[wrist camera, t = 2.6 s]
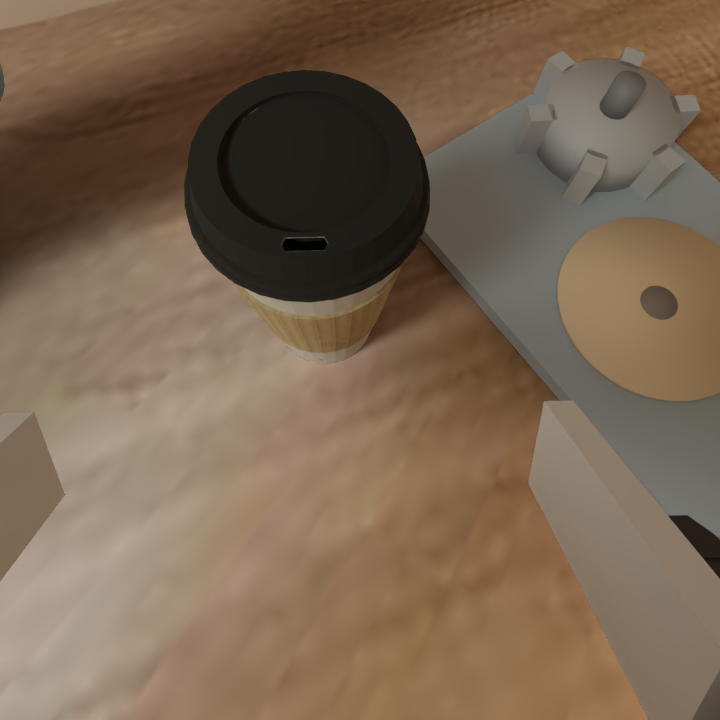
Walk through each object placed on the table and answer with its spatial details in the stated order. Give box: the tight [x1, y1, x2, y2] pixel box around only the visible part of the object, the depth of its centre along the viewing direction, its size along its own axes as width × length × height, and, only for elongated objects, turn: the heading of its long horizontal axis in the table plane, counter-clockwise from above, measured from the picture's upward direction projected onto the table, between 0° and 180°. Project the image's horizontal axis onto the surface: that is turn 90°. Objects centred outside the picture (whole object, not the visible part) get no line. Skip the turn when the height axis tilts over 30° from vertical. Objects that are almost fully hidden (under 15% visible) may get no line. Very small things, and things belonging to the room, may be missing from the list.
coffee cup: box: [184, 70, 430, 364], centre depth 24 cm, size 10×10×15 cm
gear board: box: [420, 47, 720, 538], centre depth 30 cm, size 30×20×6 cm
